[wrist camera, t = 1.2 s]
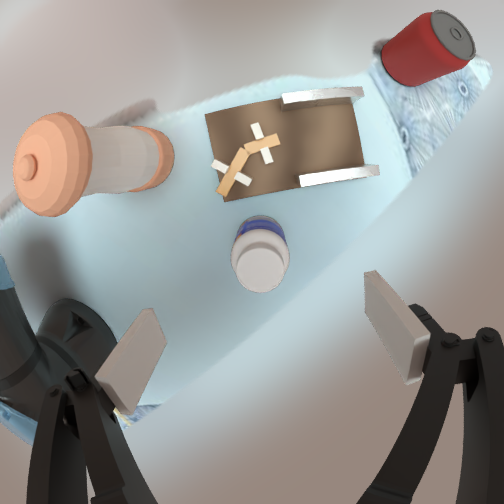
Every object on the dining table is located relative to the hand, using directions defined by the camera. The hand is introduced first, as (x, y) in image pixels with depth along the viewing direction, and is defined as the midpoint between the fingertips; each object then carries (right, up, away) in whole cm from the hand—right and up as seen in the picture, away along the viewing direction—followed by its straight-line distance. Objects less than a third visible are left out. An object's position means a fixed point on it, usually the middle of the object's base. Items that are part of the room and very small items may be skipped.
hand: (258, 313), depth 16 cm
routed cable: (-1, +13, +12) cm, 18 cm away
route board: (+3, +15, +12) cm, 20 cm away
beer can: (+18, +27, +8) cm, 33 cm away
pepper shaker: (-13, +15, +13) cm, 23 cm away
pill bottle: (+1, +5, +16) cm, 17 cm away
